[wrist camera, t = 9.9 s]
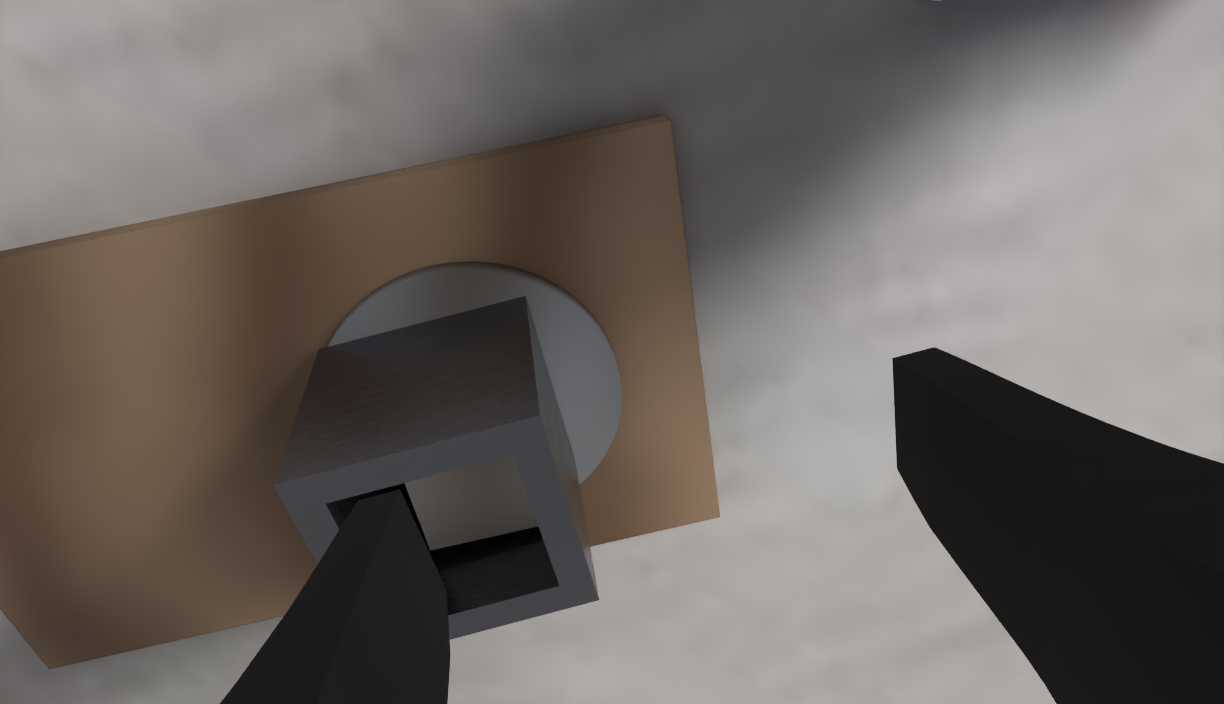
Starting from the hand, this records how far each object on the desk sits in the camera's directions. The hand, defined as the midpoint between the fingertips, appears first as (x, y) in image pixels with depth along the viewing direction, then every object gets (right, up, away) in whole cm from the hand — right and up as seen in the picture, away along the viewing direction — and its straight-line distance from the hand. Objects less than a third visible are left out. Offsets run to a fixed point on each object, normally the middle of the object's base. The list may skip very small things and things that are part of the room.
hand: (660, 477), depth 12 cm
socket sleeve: (-5, 0, +9) cm, 10 cm away
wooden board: (-8, 0, +10) cm, 13 cm away
